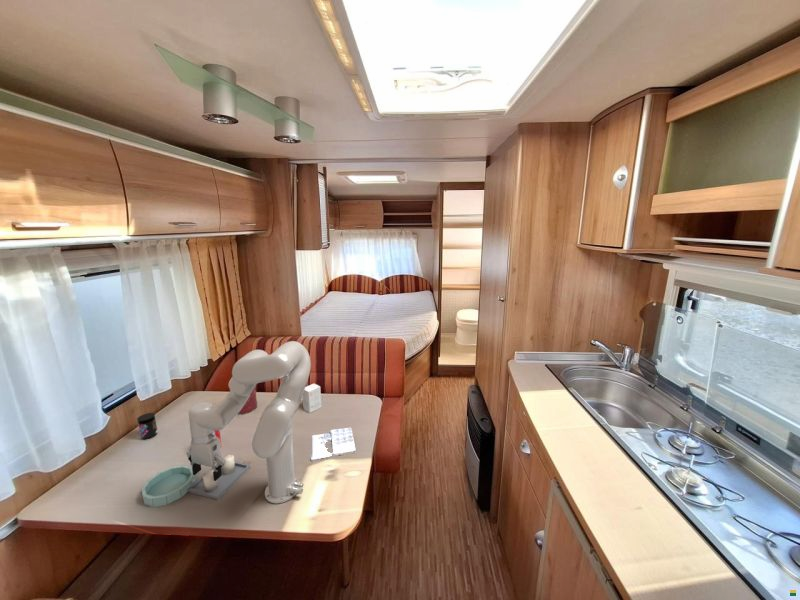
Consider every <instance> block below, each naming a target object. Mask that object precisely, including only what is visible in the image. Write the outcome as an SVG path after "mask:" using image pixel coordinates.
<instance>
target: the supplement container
mask: <svg viewBox="0 0 800 600" xmlns="http://www.w3.org/2000/svg"><path fill="white" fill-rule="evenodd" d="M136 420H137V426H138V432H139V437H140V439H141V440H143V441H145V440H151V439H153V438H154V437H156V436H157V435H158V433H159V432H158V426H157V420H156V414H155V412H148V413H144V414H142V415H140V416H138V417H137V418H136Z"/></svg>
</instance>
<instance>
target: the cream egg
mask: <svg viewBox="0 0 800 600" xmlns="http://www.w3.org/2000/svg"><path fill="white" fill-rule="evenodd" d="M209 470H210V469H209ZM209 470H207V471H206V472H205V473H203V475H202V476H203V481H204V488H205V491H206V492H211V491H214V490H215V489H216V488H217V487H218V481H217V480H216V481H214V477H213V472H214V470H210V471H209Z"/></svg>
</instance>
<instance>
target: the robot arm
mask: <svg viewBox="0 0 800 600" xmlns="http://www.w3.org/2000/svg"><path fill="white" fill-rule="evenodd" d="M311 363H312V362H311V356H310V354H309V352H308V350H307V348H306V347H305V346H304V345H303V344H302V343H301V342H298V341H295V340H291V341H287V342H285V343H283V344H282V345H279V347H278V348H276V350H274V351H273V352H272V353H271V354H269V353H268V352H266V351H265V350H262V349H254V350H251V351H249V352H248V353H246V354H245V355H244V356H241V358H240V359H238V360H237V361H236V362H235V363H234V365H233V367H232V370H231V375H232V377H231V378H230V380H229V381H228V388H229V392H228V393H227V395H226V396H225V398H224V399H223V400H222V401H220V403H219V404H217V405H216V406H215V407H213V404H212V403H210V402H208V401H206V402H205V401H204V402H198V403H195V404H193V405H192V406H191V407H190V408H189V410H188V422H189V430H190V450H187V452H185V455H186V457H187V459H188V461H189V462H190V465H191V466H190V467H192V471H193V475H195V476H196V475H197V474H199V472H200V471H202V466H205V467H208V468H212V469H213V470H214V472H213V477H214V481H216V480H217V479H218V478H220V477H221V476H222V471H221V468H222V467H223V466H224V464H225V462H226V460H225V459H223V456H222V450H221V448H220V445H219V441H218V439H217V437H216V435H215V431H219V430H220V431H221V430H223V429H225V428H226V427H227V426H228V425H229V424H230V423H231V422H232V420H233V419H234V418H236V417H237V415H239V414H238V413H239V412H240V410H241V409H242V408H243V406H244V405H245V403H246V402H247V400H248V399H249V397H250V395H251V393H252V391H253V389H254V388H255V386H256V387H257V384H259V383H260V384H261V383H265V382H270V381H275V380H280V379H281V381H280V385H279V387H278V390H277V393H276V395H275V396H274V397H273V399H272V400H270V402H269V403H268V404H267V406H266V407H265V409H264V410H263V412H262V413H261V416H260V418H259V422H258V423H257V426H256V430H255V432H254V434H253V435H254V436H253V437H252V441H251V442H252V443H251V446H252V447H251V448H252V450H253V453H254V454H255V455H256V456H257V457H258V458H261V459H265V462H266V474H267V483H268V484H267V486H266V487H265V490H264V497H265V499H266V501H268V503H272V504H282V503H285V502H289V500H291V499H293V498H294V497H295V496H296V495H298V494H299V495H302V493H303V491H304V488H303V487H304V483H301V482H300V481H299V479H298V477H297V476H296V475H295V465H294V463H295V462H294V448H293V447H294V446H293V444H294V443H293V435H294V422H293V419H294V418H295V415H296V414H297V413H298V409H299V406H300V403H301V401H302V399H303V392H304V389H305V387H307V383H308V380H309V377H310V373H311V368H312V367H311V366H312V364H311ZM255 389H256V388H255ZM216 464H217V465H218V467H217V468H216V466H215V465H216Z"/></svg>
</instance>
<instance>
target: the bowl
mask: <svg viewBox="0 0 800 600" xmlns="http://www.w3.org/2000/svg"><path fill="white" fill-rule="evenodd" d="M196 481H197V480H196V475H193V471H192V466H188V465H183V464H182V465H179V466H177V465H176V466H171V467H169V468H166V469H164V470H162V471H160V472H159V471H158V472H157V473H156V474H155V475H152V477H150V478H149V479H147V480H146V482H145V483H144V484H143V487H142V488H141V494H142V498H143V499H142V500H143V503H144V506H145V505H146V506H149V507H153V508H154V507H160V506H166V505H169V504H171V503H173V502H175V501H176V500H179V499H181V498H183V497H184V496H185V495H186V494H188V493H189V492H188V490H187V489H188V488H189V487H190V486H192V485H193V484H194V483H195V482H196Z"/></svg>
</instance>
